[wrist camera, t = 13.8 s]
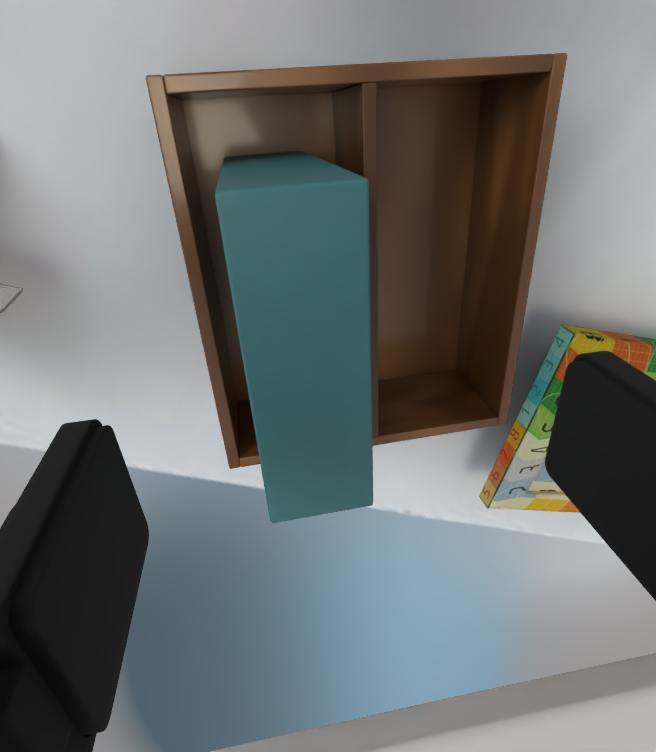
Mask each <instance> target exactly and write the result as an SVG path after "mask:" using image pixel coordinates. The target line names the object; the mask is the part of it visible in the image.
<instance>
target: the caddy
mask: <svg viewBox="0 0 656 752" xmlns="http://www.w3.org/2000/svg"><path fill="white" fill-rule="evenodd" d="M566 59H567V54H566V53H557V54H538V55H519V56H501V57H482V58H464V59H445V60H427V61H408V62H389V63H371V64H352V65H334V66H315V67H296V68H278V69H259V70H241V71H222V72H204V73H185V74H166V75H164V76H162V75H147V76H146V82H147V86H148V91H149V96H150V100H151V105H152V110H153V114H154V119H155V124H156V128H157V133H158V138H159V142H160V147H161V152H162V156H163V161H164V166H165V170H166V175H167V180H168V184H169V189H170V194H171V198H172V203H173V207H174V212H175V217H176V221H177V226H178V231H179V235H180V240H181V245H182V249H183V254H184V259H185V263H186V268H187V273H188V277H189V282H190V287H191V291H192V296H193V301H194V305H195V310H196V315H197V319H198V324H199V329H200V333H201V338H202V343H203V347H204V352H205V357H206V361H207V366H208V370H209V375H210V380H211V384H212V389H213V394H214V398H215V403H216V408H217V412H218V417H219V422H220V426H221V431H222V436H223V440H224V445H225V450H226V454H227V459H228V464H229V468H230V469H232V468H238V467H240V466H241V467H244V466H250V465H256V464H261V463H260V458H259V452H258V446H257V440H256V434H255V428H254V422H253V416H252V411H251V405H250V399H249V393H248V387H247V381H246V375H245V369H244V364H243V358H242V352H241V346H240V340H239V334H238V328H237V323H236V317H235V311H234V305H233V299H232V293H231V287H230V281H229V276H228V270H227V264H226V258H225V252H224V246H223V240H222V234H221V229H220V223H219V217H218V211H217V205H216V199H215V192H216V188H217V184H218V180H219V176H220V172H221V168H222V164H223V160H224V157H227V156H240V155H253V154H266V153H279V152H292V151H304V152H306V153H308V154H311V155H313V156H315V157H318V158H320V159H322V160H325V161H327V162H329V163H332V164H334V165H337V166H339V167H341V168H344V169H346V170H348V171H351V172H353V173H355V174H358V175H360V176H362V177H365V178H367V179H368V182H369V244H370V316H371V387H372V446H373V445H379V444H385V443H391V442H397V441H404V440H410V439H416V438H422V437H428V436H434V435H441V434H447V433H453V432H459V431H465V430H471V429H477V428H484V427H490V426H496V425H502V424H506V423H507V418H508V412H509V406H510V400H511V394H512V388H513V382H514V376H515V370H516V364H517V358H518V351H519V345H520V339H521V333H522V327H523V321H524V315H525V309H526V303H527V297H528V291H529V285H530V278H531V272H532V266H533V260H534V254H535V248H536V242H537V236H538V230H539V224H540V218H541V211H542V205H543V199H544V193H545V187H546V181H547V175H548V169H549V163H550V157H551V151H552V145H553V138H554V132H555V126H556V120H557V114H558V108H559V102H560V96H561V90H562V84H563V78H564V71H565V65H566Z"/></svg>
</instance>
